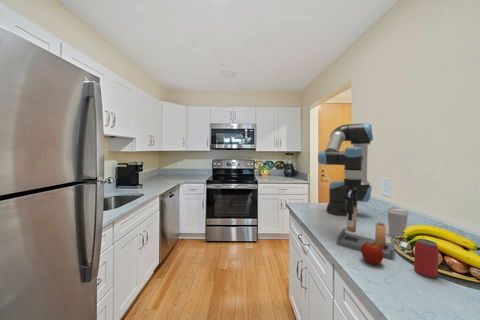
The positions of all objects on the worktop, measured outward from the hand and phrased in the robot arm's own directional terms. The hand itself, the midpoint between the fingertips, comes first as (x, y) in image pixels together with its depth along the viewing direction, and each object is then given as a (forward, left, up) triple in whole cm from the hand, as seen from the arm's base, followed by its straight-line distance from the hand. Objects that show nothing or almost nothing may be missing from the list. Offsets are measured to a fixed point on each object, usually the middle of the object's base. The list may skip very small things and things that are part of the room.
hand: (351, 225), depth 100 cm
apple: (+14, +10, -9) cm, 20 cm away
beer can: (+10, +27, -9) cm, 30 cm away
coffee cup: (-25, +17, -9) cm, 31 cm away
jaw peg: (0, 0, -3) cm, 3 cm away
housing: (0, +6, -9) cm, 11 cm away
